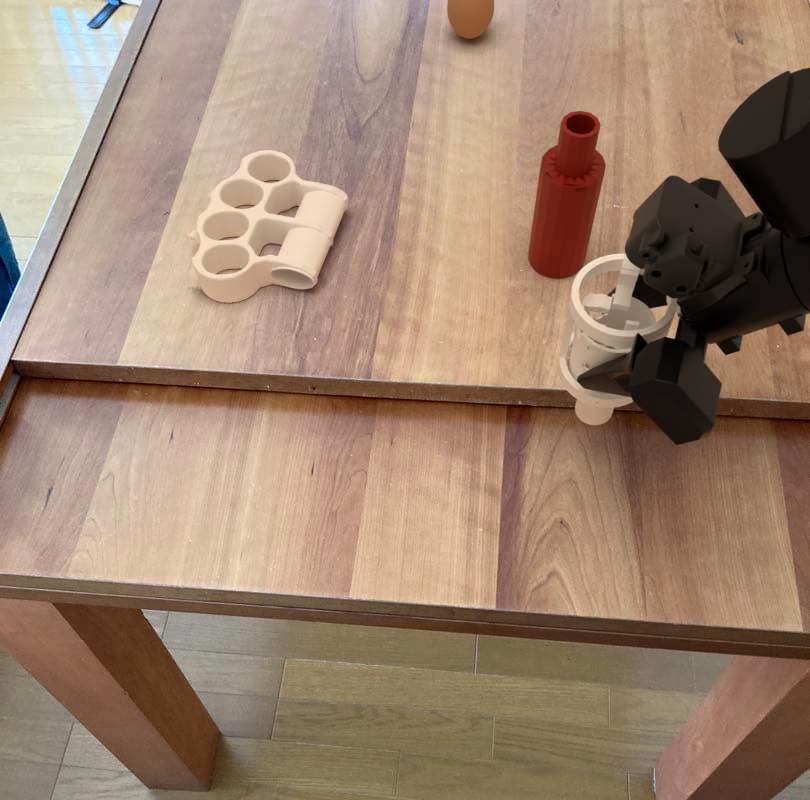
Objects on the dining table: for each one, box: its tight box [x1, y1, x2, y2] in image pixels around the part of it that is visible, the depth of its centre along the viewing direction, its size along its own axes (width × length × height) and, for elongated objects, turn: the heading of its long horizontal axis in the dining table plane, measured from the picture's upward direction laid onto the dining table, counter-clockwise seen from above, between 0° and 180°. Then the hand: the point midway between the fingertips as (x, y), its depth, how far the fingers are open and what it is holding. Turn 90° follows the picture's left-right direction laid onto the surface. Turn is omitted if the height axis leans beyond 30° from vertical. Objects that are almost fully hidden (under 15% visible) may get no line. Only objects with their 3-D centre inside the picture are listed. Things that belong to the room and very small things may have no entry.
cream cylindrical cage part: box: [557, 252, 678, 426], centre depth 60 cm, size 7×7×15 cm
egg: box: [446, 0, 495, 40], centre depth 94 cm, size 5×5×7 cm
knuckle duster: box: [185, 149, 350, 304], centre depth 83 cm, size 3×18×15 cm
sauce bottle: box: [527, 110, 607, 279], centre depth 75 cm, size 6×6×15 cm
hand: (590, 345), depth 61 cm, fingers closed on cream cylindrical cage part, 7 cm apart
